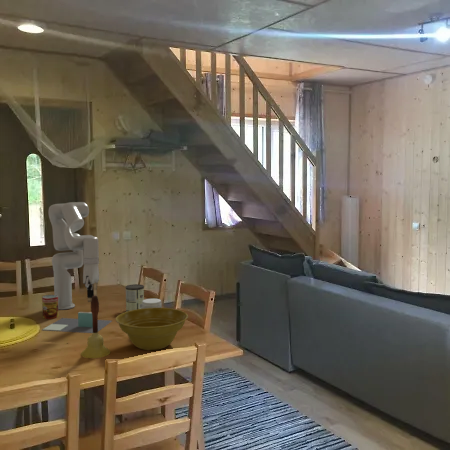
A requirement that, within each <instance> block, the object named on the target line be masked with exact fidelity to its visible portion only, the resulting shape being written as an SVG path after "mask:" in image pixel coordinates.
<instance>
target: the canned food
mask: <svg viewBox="0 0 450 450" xmlns="http://www.w3.org/2000/svg"><path fill="white" fill-rule="evenodd" d="M41 301H42V303H41V304H42V306H41V307H42V319H45V320H53V319H57V318H58V317H59V310H58V295H55V294H45V295H42V297H41Z"/></svg>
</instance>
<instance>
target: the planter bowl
mask: <svg viewBox="0 0 450 450" xmlns="http://www.w3.org/2000/svg"><path fill="white" fill-rule="evenodd" d="M188 318H189V315H188V313H187V312H185V311H183V310H181V309H176V308H171V307H162V308H143V309H136V310H131V311H127V312H126V311H125V312H121V313H120V314H118V315H117V316H116V317H115V322H116V323H117V324H118V326H119V327H120V330H121V331H122V332H123V333H125V334H127V336H128V338H129V340H130V341H131V343H132V344H133V346H135V347H137V348H138V349H141V350H145V351H156V350H161V349H164V348H166V347H167V348H168V346H169V345H171V344H172V343H173V341H174V339H175V337H176V335H177V333H178V332H179V331H180V330H181V329H182V328H183V327H184V325H185V324H186V323H185V322H186V320H188Z"/></svg>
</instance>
